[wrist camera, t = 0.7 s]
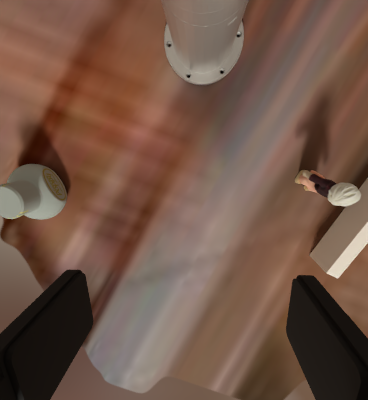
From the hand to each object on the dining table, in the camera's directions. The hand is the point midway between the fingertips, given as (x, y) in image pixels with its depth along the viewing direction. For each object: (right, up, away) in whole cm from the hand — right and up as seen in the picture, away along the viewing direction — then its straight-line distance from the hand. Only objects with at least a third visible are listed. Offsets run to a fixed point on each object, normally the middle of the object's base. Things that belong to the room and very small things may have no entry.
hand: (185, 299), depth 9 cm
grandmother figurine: (+22, +8, +29) cm, 38 cm away
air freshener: (-28, +7, +34) cm, 45 cm away
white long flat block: (+32, +4, +30) cm, 44 cm away
